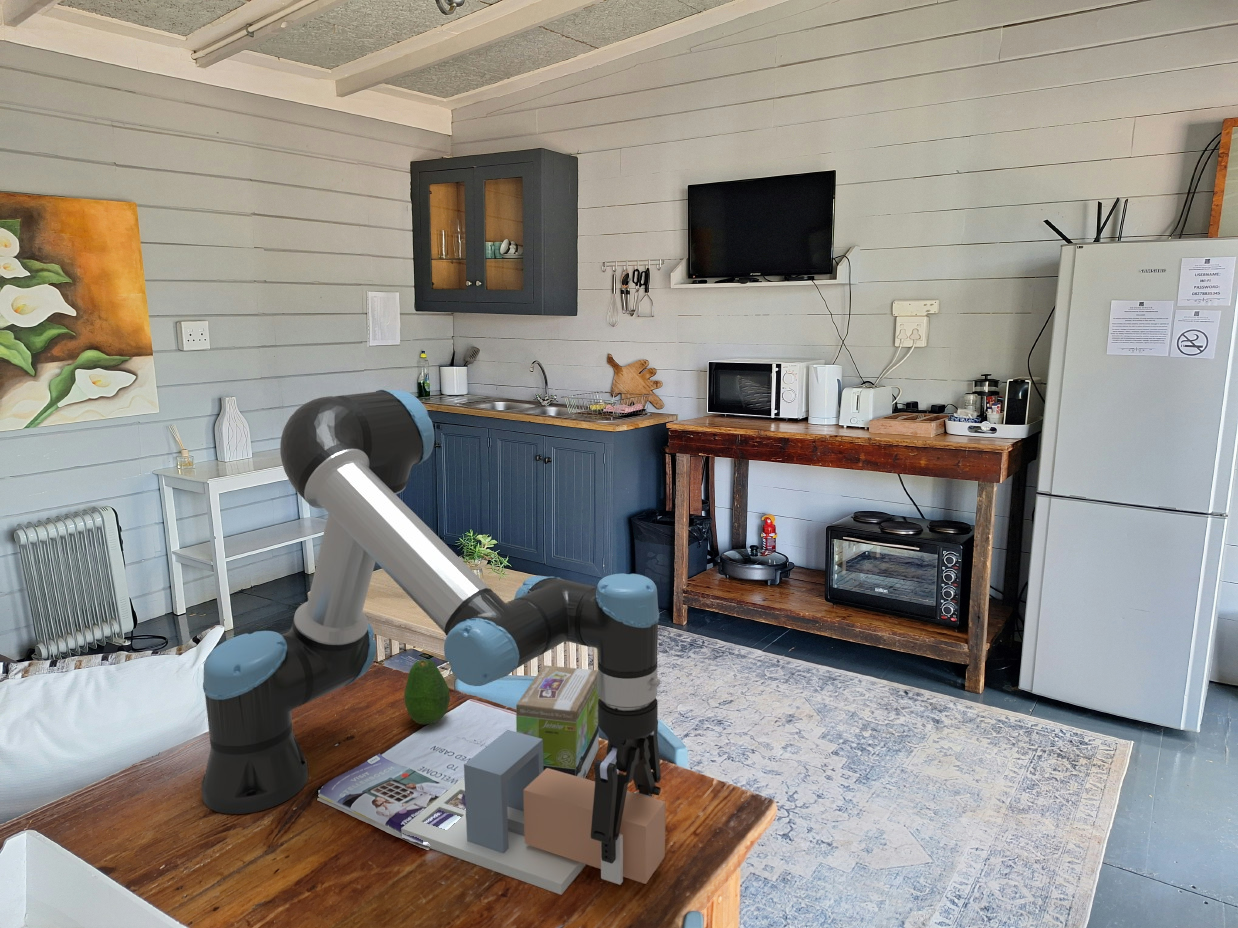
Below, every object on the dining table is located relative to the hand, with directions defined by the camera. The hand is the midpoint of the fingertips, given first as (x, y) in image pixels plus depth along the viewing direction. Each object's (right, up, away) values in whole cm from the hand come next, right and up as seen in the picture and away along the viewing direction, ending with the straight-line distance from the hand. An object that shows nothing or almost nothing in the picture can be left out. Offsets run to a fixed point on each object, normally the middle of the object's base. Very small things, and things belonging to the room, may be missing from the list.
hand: (627, 858), depth 110 cm
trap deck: (-17, -1, +9) cm, 19 cm away
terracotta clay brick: (-5, 0, +2) cm, 5 cm away
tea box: (-11, +2, +26) cm, 28 cm away
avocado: (-35, +5, +41) cm, 54 cm away
